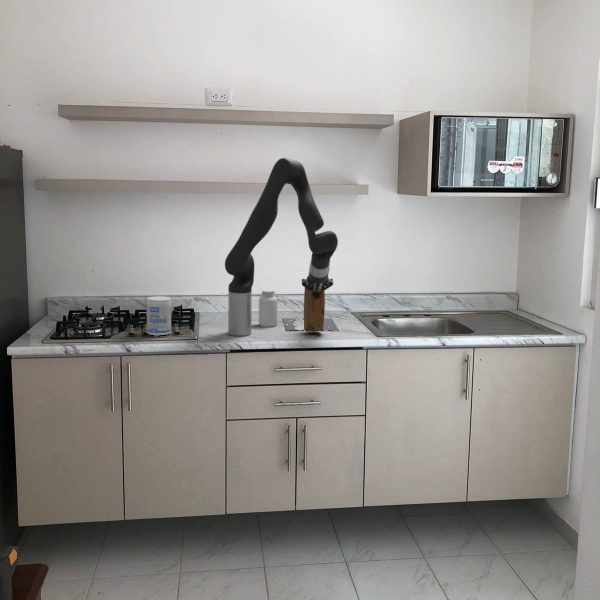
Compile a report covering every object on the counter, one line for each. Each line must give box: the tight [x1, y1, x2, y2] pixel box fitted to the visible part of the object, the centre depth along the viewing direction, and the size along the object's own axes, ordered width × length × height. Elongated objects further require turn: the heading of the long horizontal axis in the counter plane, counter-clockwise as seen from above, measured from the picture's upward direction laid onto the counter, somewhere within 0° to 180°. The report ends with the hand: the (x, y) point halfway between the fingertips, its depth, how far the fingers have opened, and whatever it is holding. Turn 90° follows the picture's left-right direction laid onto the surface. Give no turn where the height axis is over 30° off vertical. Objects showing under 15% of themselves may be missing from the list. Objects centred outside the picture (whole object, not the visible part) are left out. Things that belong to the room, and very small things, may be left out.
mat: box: [282, 317, 340, 332], centre depth 319 cm, size 22×24×1 cm
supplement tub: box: [146, 295, 172, 337], centre depth 295 cm, size 10×10×15 cm
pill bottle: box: [258, 289, 278, 328], centre depth 316 cm, size 8×8×15 cm
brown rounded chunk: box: [303, 286, 326, 333], centre depth 301 cm, size 11×8×20 cm
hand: (315, 294), depth 297 cm, fingers closed
